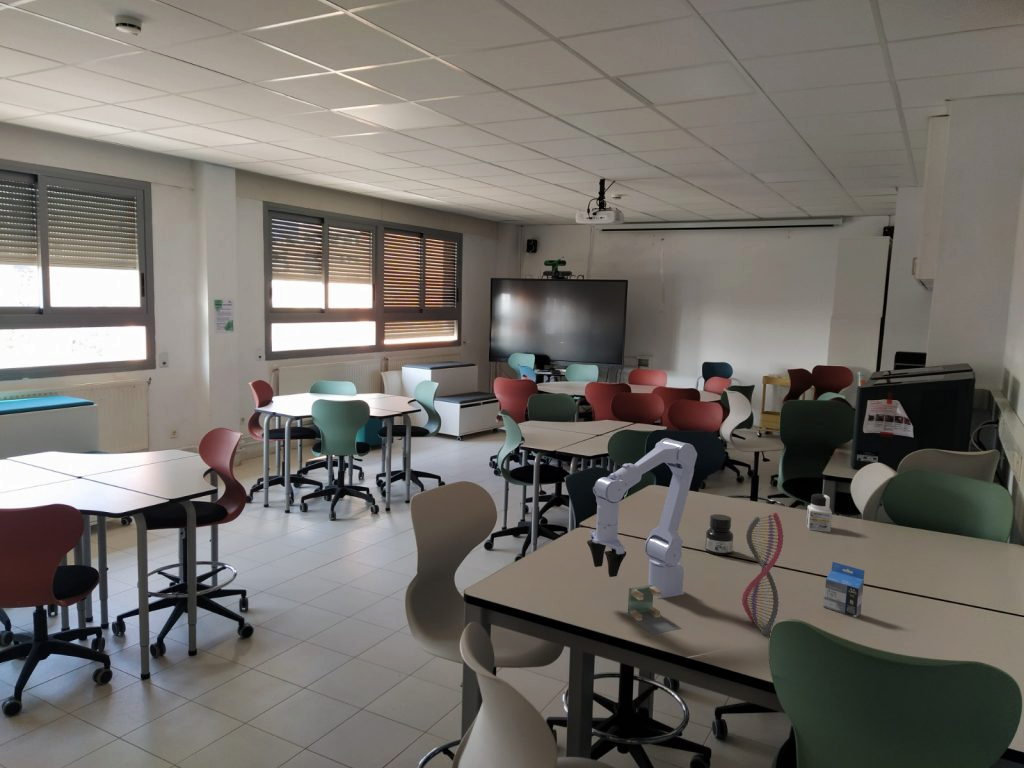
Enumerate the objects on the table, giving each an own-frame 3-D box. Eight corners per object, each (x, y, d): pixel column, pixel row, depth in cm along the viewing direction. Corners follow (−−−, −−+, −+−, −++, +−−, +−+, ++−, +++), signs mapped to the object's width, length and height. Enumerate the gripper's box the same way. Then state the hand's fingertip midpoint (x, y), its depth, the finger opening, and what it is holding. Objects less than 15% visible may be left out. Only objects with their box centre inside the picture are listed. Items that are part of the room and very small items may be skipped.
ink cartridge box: (822, 607, 196) (826, 564, 194) (828, 603, 199) (831, 561, 197) (856, 618, 190) (859, 573, 188) (861, 614, 192) (865, 570, 191)
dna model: (768, 620, 186) (776, 509, 183) (782, 636, 177) (791, 520, 174) (735, 620, 186) (742, 509, 183) (747, 635, 177) (755, 519, 174)
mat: (651, 609, 191) (651, 608, 191) (681, 629, 179) (681, 628, 179) (623, 614, 187) (623, 613, 187) (651, 635, 176) (651, 634, 176)
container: (808, 530, 267) (811, 496, 265) (806, 524, 274) (808, 491, 273) (830, 532, 264) (833, 498, 263) (827, 526, 272) (830, 493, 270)
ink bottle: (704, 554, 236) (706, 519, 235) (703, 545, 245) (705, 512, 243) (734, 557, 234) (736, 522, 233) (732, 549, 242) (734, 515, 241)
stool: (627, 613, 187) (628, 588, 186) (649, 609, 190) (651, 584, 189) (637, 621, 183) (639, 595, 182) (659, 616, 186) (661, 591, 185)
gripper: (580, 516, 195) (579, 563, 196) (608, 532, 182) (606, 583, 183) (602, 513, 198) (601, 560, 199) (632, 529, 184) (629, 579, 186)
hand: (605, 571), depth 191 cm, fingers open, 7 cm apart
